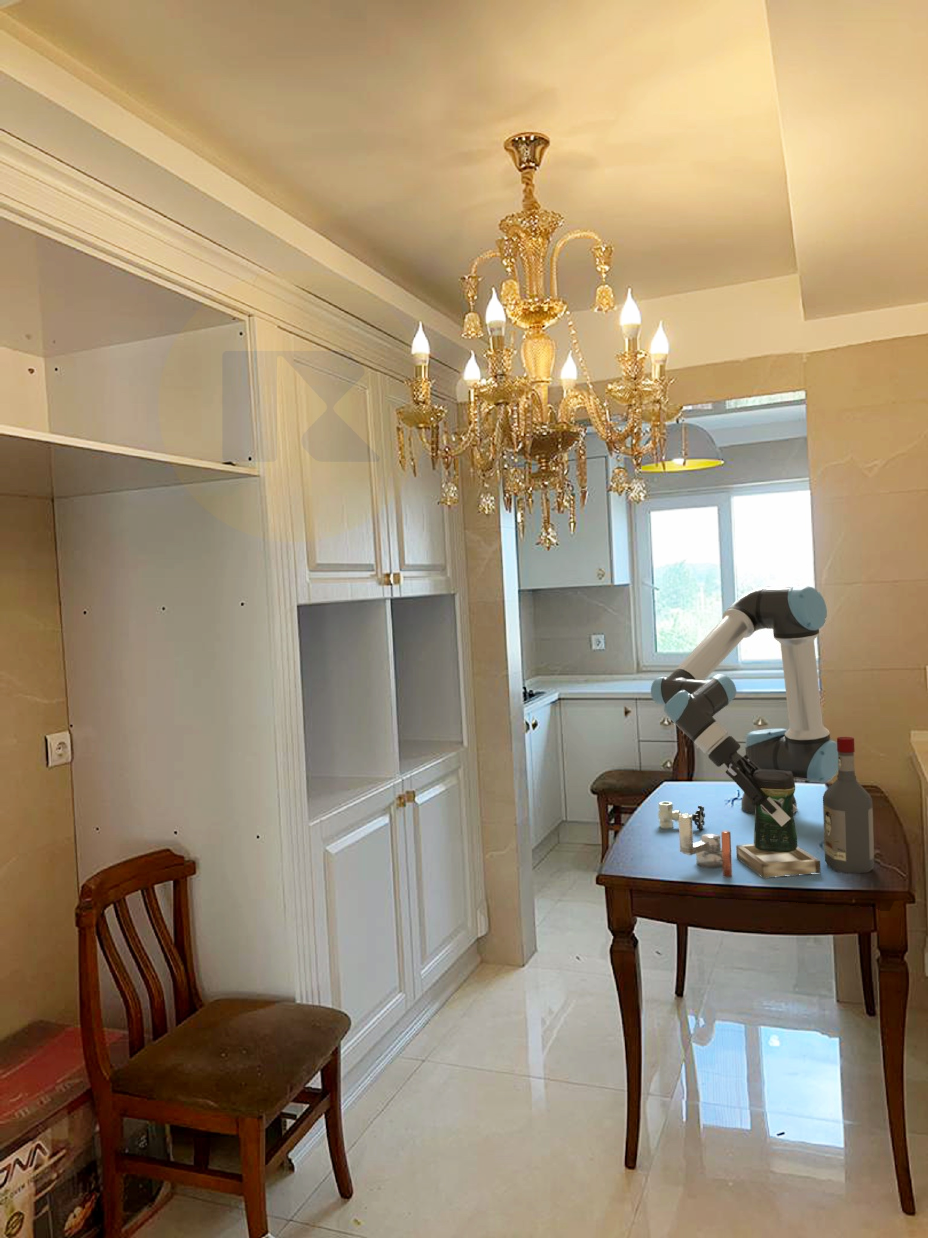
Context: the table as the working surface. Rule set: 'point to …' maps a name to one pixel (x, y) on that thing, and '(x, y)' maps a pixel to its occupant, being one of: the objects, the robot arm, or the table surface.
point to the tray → (778, 861)
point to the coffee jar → (766, 827)
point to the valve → (668, 815)
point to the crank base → (718, 856)
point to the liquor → (848, 817)
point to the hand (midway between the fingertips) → (789, 817)
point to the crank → (689, 848)
